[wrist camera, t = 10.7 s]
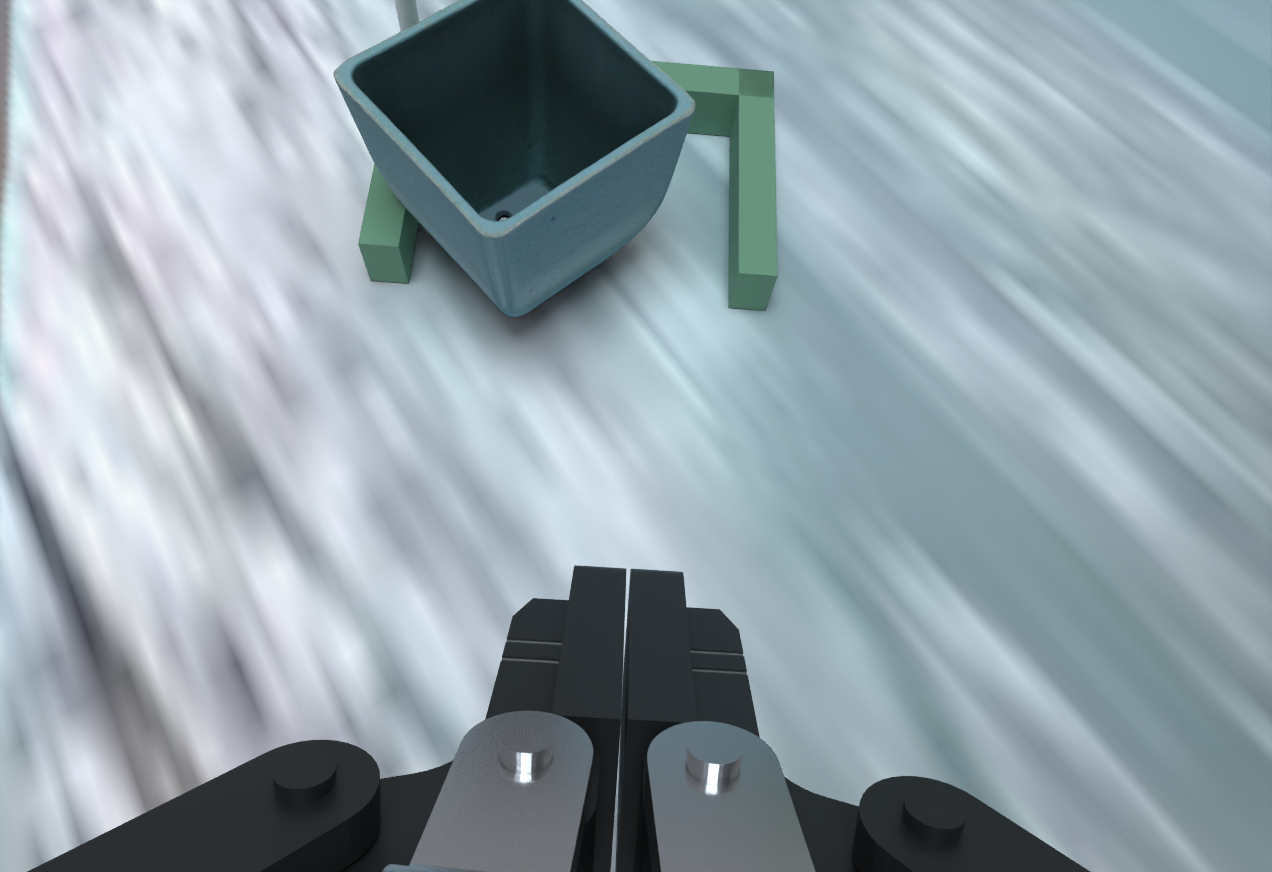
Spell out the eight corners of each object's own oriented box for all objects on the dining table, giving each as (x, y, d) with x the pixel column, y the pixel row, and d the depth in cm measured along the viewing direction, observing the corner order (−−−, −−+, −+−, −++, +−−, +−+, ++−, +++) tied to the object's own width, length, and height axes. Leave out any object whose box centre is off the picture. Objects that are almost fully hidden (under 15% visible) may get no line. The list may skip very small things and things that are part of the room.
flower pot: (375, 233, 39) (324, 66, 31) (542, 131, 42) (536, -47, 34) (506, 379, 37) (489, 241, 28) (674, 261, 39) (703, 104, 31)
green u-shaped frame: (762, 113, 43) (848, -218, 30) (765, 310, 39) (867, 25, 25) (408, 83, 42) (337, -269, 29) (370, 280, 38) (266, -29, 25)
